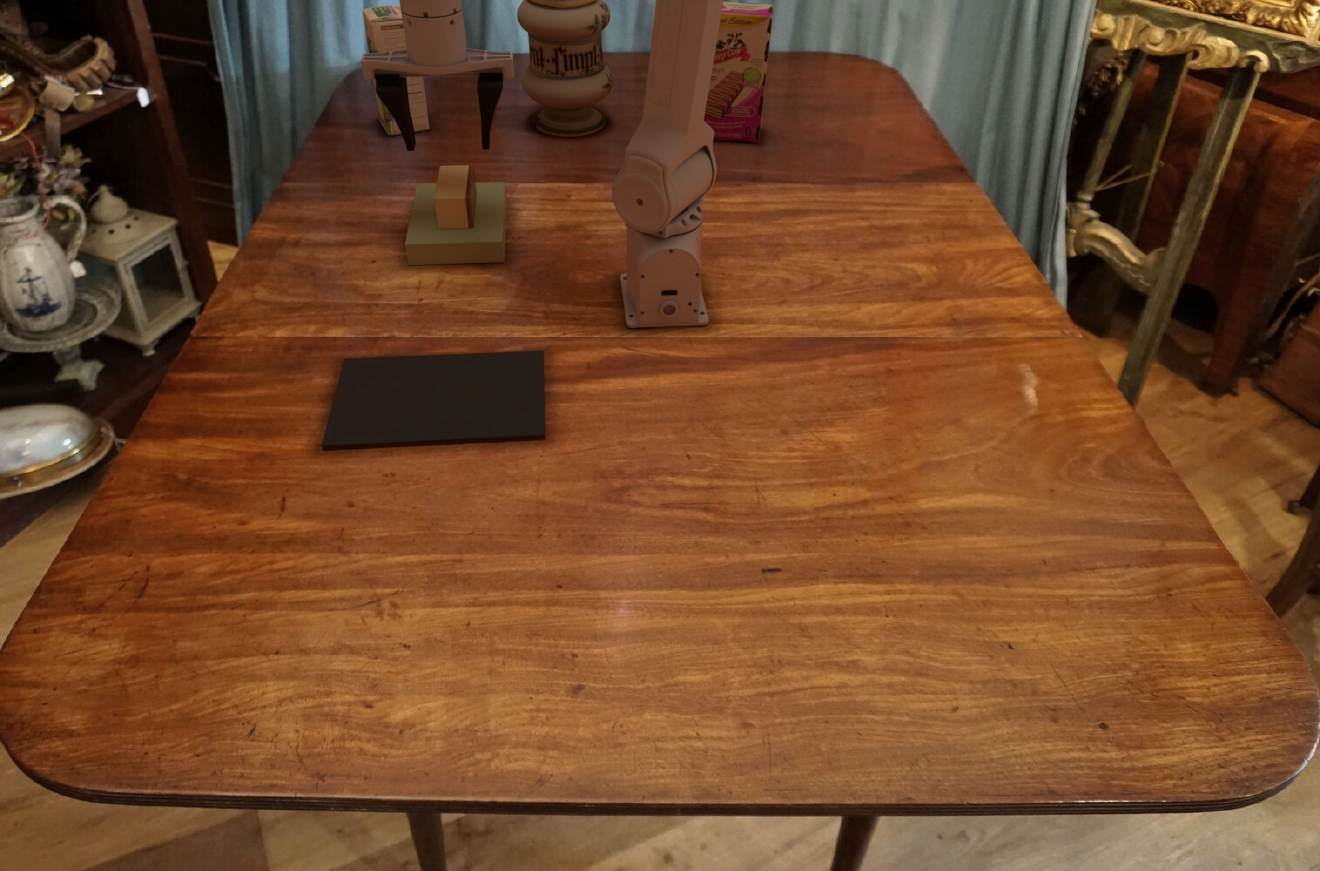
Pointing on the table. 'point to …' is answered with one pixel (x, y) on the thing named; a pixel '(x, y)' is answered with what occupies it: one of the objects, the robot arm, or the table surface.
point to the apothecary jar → (566, 63)
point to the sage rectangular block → (458, 229)
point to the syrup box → (387, 37)
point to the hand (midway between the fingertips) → (449, 146)
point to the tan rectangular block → (455, 197)
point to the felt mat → (437, 400)
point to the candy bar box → (739, 72)
